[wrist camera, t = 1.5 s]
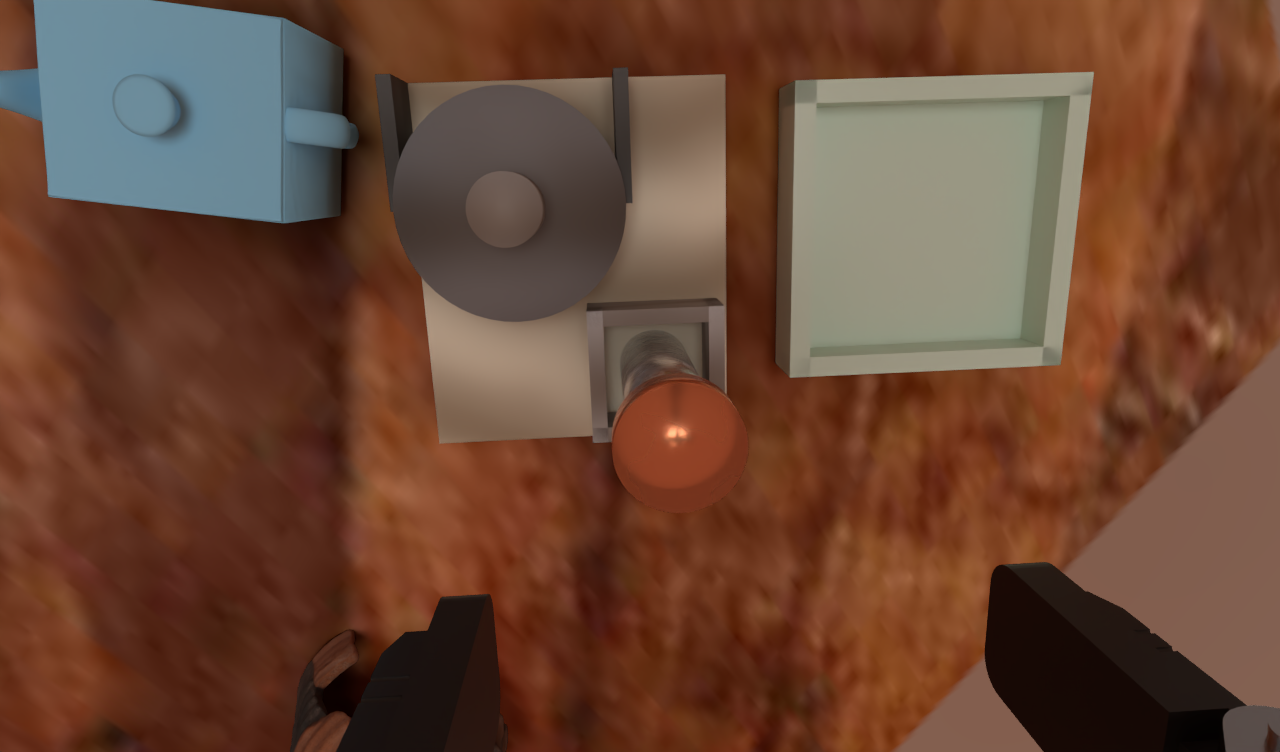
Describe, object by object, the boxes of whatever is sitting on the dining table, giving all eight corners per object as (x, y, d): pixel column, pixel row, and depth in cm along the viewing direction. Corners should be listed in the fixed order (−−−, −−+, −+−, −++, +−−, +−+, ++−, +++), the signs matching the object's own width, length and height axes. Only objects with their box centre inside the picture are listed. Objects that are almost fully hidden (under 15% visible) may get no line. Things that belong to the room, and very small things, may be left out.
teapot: (73, 183, 29) (-103, 183, 22) (61, 15, 27) (-131, -45, 20) (386, 219, 30) (319, 231, 23) (391, 58, 28) (321, 16, 21)
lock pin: (605, 319, 30) (609, 387, 20) (699, 315, 30) (748, 380, 20) (609, 409, 31) (615, 516, 21) (700, 405, 31) (748, 509, 21)
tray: (779, 88, 29) (795, 80, 27) (1053, 80, 30) (1093, 72, 28) (775, 362, 32) (789, 377, 30) (1026, 351, 33) (1060, 365, 30)
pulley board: (403, 88, 29) (350, 62, 22) (718, 79, 29) (752, 51, 23) (440, 431, 32) (402, 492, 26) (721, 418, 33) (750, 473, 26)
